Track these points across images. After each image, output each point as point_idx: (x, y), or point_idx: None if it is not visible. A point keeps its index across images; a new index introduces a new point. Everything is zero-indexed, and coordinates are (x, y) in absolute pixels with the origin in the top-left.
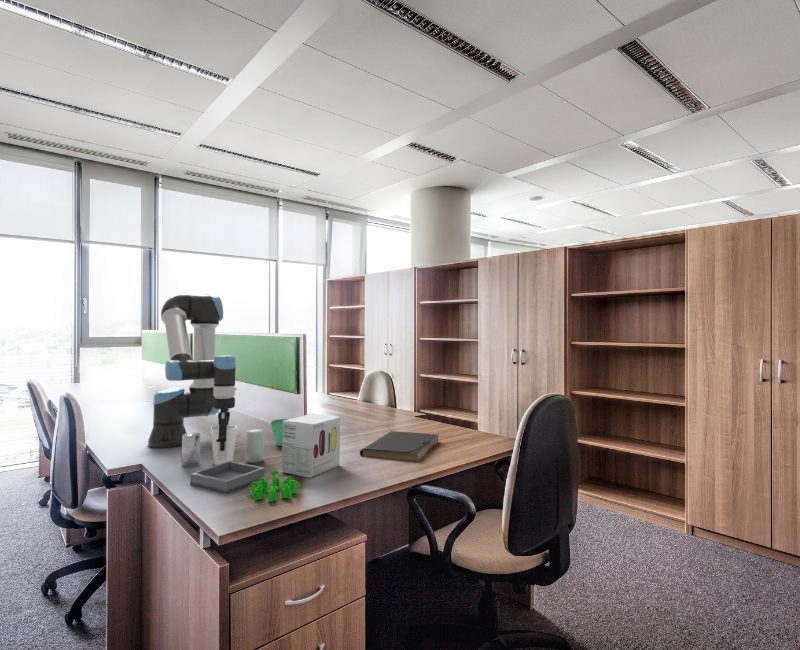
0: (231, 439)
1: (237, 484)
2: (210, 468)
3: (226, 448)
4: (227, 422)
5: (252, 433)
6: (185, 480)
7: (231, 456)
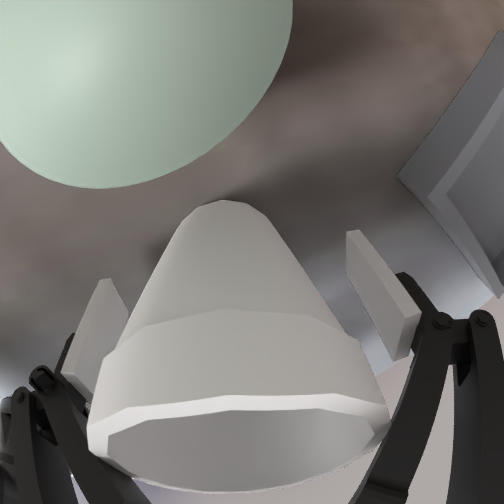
0: (315, 302)
1: None
2: (487, 258)
3: (391, 272)
4: (406, 499)
5: (286, 33)
6: (438, 305)
7: (254, 218)
